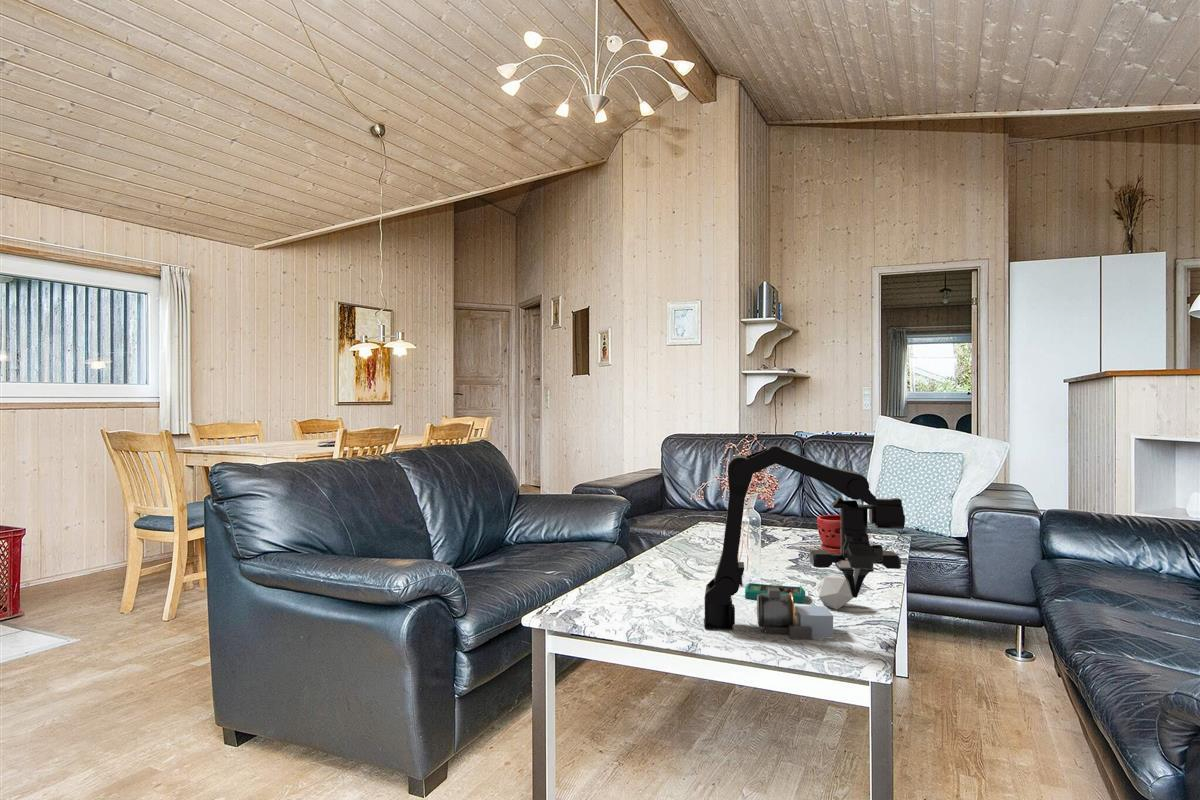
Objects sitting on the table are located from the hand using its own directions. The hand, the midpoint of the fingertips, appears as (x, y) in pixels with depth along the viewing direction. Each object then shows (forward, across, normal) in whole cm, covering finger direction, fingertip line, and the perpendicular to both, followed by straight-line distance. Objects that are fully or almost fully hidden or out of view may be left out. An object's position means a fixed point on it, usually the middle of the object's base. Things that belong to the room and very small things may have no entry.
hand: (854, 597), depth 157 cm
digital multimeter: (+9, -14, +27) cm, 32 cm away
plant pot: (+8, +14, +83) cm, 85 cm away
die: (+8, 0, +20) cm, 22 cm away
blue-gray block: (+8, -9, 0) cm, 12 cm away
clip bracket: (+8, -12, 0) cm, 14 cm away
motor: (+8, -18, 0) cm, 20 cm away
